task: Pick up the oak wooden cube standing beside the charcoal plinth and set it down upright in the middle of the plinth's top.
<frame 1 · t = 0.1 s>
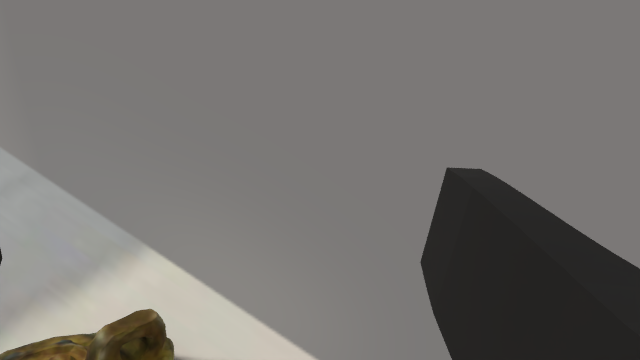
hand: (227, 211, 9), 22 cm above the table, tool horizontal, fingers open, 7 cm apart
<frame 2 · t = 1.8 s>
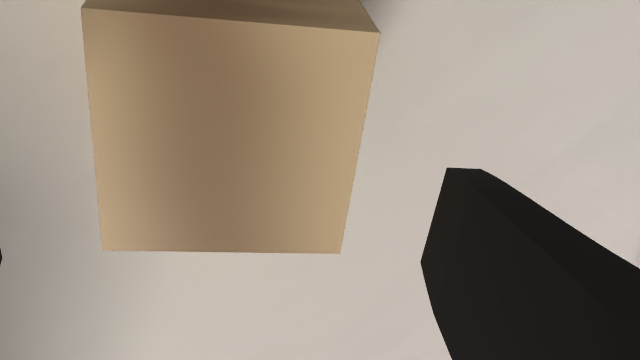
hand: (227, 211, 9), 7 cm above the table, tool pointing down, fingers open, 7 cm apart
oak cube: (230, 55, 15), on the table
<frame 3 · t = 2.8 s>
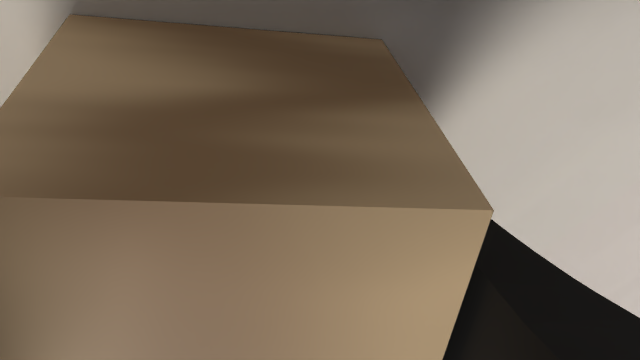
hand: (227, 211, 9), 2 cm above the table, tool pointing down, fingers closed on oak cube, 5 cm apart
oak cube: (226, 160, 11), on the table, touching gripper
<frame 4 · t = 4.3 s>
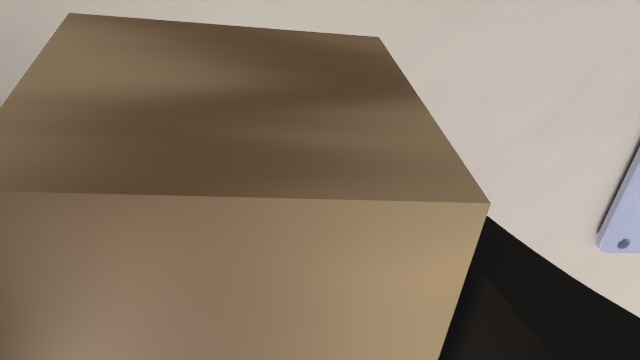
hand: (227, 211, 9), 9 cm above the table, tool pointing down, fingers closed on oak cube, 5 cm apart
oak cube: (225, 157, 11), point 7 cm above the table, touching gripper
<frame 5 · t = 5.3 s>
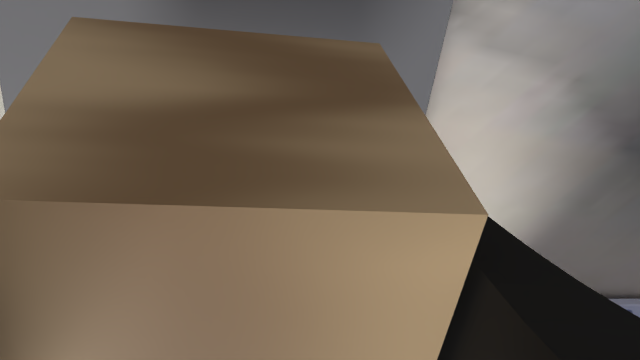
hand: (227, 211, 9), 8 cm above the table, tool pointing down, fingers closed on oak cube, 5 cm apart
charcoal plinth: (227, 48, 16), on the table
oak cube: (225, 160, 11), point 6 cm above the table, touching gripper
when the fingers open (5 cm above the table, at t = 6.2 s): oak cube stays where it is, resting on charcoal plinth.
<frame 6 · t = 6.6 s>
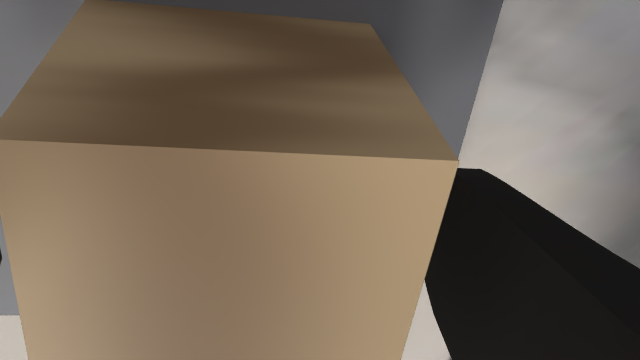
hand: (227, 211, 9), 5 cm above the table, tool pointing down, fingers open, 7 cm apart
charcoal plinth: (226, 83, 14), on the table
oak cube: (227, 135, 12), point 2 cm above the table, touching charcoal plinth
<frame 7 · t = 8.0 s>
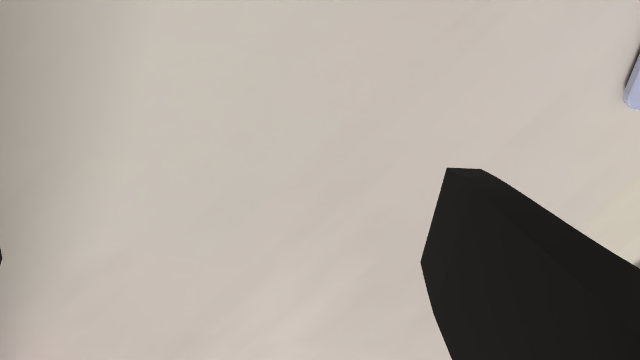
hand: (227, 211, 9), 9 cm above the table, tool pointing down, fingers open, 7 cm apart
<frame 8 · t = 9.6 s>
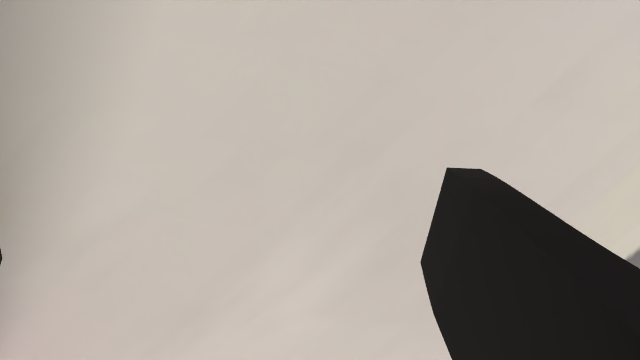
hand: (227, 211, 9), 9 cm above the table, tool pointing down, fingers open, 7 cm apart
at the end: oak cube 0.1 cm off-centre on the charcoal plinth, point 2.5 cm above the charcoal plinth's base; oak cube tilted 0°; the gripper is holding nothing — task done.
